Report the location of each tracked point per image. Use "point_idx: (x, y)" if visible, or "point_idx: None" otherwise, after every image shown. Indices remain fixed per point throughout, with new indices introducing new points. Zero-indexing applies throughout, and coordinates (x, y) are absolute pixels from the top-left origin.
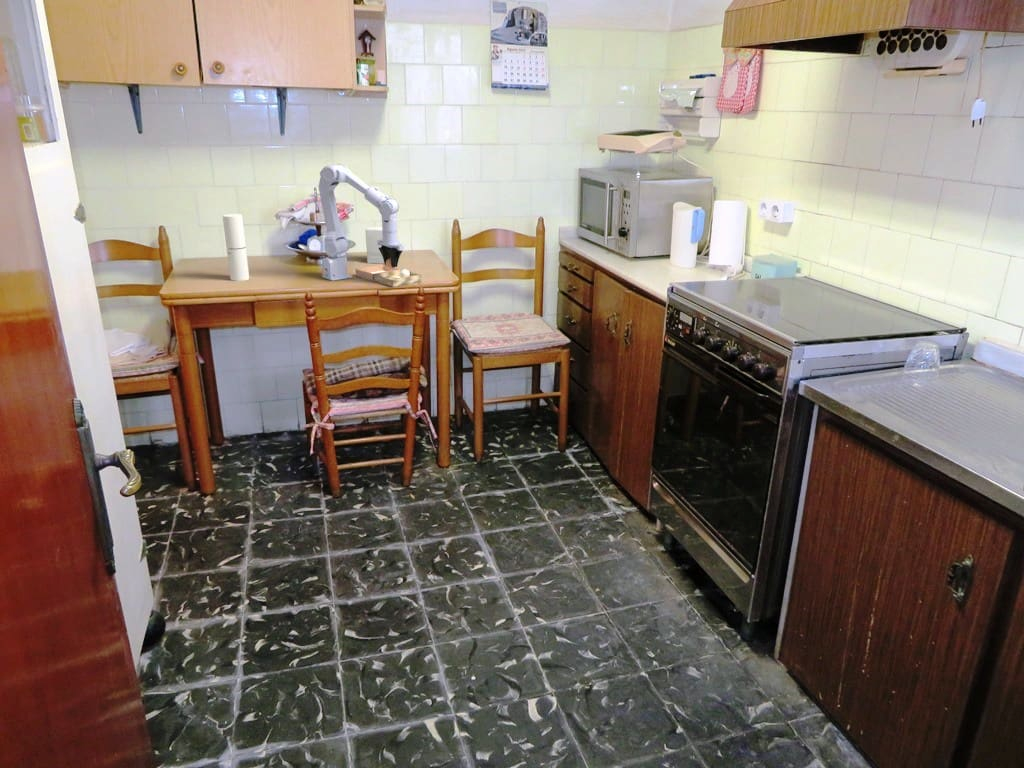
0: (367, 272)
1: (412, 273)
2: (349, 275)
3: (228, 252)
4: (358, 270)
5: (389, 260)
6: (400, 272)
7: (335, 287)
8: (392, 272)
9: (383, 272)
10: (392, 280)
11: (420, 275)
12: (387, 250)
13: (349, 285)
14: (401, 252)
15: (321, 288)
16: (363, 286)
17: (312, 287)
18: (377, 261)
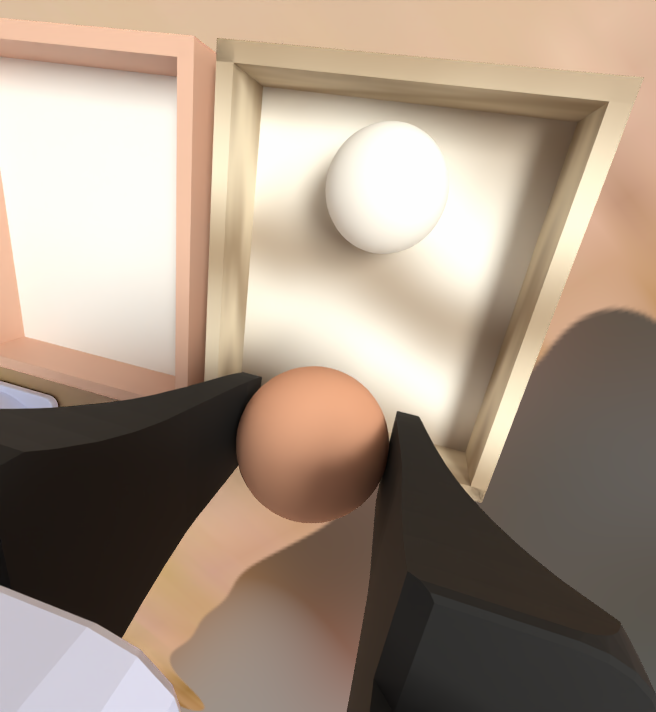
0: (111, 394)
1: (444, 87)
2: (24, 395)
3: None
4: (10, 365)
5: (316, 521)
6: (353, 240)
7: (192, 604)
8: (228, 227)
9: (190, 310)
10: (481, 501)
11: (632, 98)
12: (104, 559)
13: (205, 546)
14: (574, 598)
15: (165, 640)
16: (283, 530)
17: (124, 639)
18: None
